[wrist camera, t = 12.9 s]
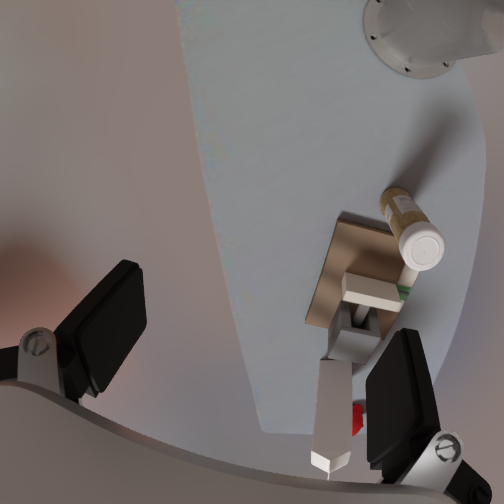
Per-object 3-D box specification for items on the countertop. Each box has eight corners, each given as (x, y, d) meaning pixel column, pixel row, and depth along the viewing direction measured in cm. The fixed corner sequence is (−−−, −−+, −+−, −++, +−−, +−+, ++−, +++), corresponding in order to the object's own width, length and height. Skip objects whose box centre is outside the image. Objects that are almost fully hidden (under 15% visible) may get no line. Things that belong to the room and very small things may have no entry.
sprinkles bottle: (372, 208, 37) (393, 259, 26) (390, 179, 35) (421, 220, 24) (399, 224, 38) (426, 279, 26) (417, 198, 35) (454, 244, 24)
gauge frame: (337, 218, 39) (340, 244, 33) (428, 243, 38) (445, 271, 31) (305, 318, 48) (301, 352, 42) (382, 334, 47) (388, 368, 40)
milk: (319, 378, 55) (307, 480, 36) (319, 359, 52) (307, 469, 34) (350, 378, 54) (346, 480, 35) (352, 358, 51) (350, 469, 32)
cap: (355, 433, 59) (369, 436, 53) (333, 437, 57) (346, 441, 52) (355, 402, 62) (368, 402, 57) (332, 405, 61) (345, 406, 55)
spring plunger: (344, 272, 41) (346, 290, 37) (409, 287, 40) (416, 306, 36) (331, 307, 44) (331, 327, 41) (392, 320, 43) (396, 340, 40)
